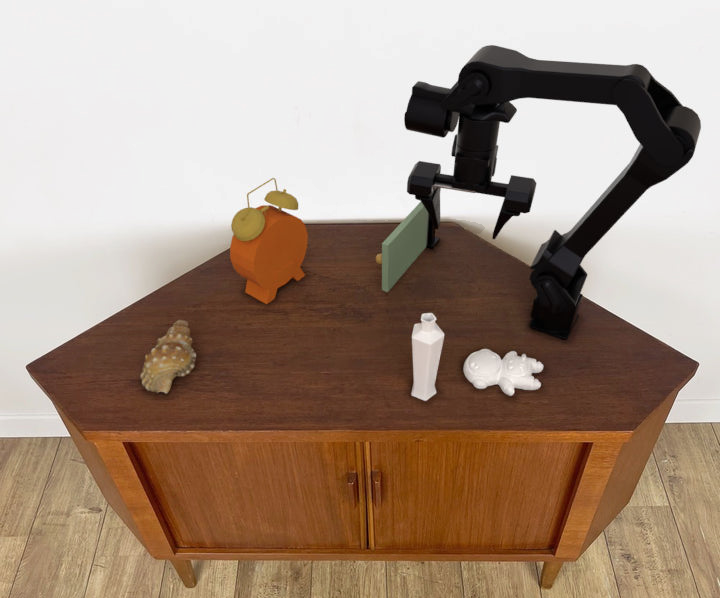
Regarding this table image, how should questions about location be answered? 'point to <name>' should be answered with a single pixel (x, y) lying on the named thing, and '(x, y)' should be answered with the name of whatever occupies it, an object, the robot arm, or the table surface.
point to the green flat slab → (403, 246)
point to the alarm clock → (268, 244)
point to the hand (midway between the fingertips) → (465, 232)
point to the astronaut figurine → (502, 371)
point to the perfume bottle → (426, 356)
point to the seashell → (169, 359)
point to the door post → (431, 236)
